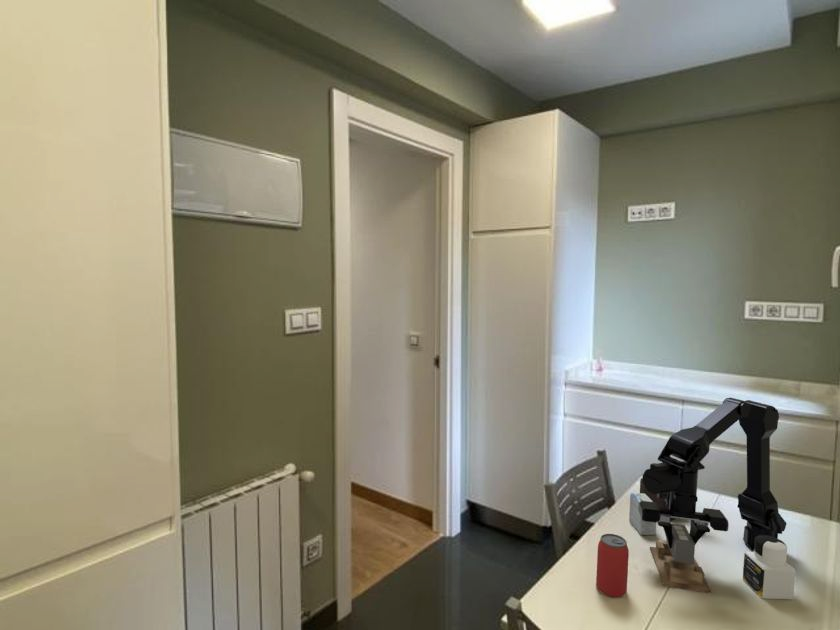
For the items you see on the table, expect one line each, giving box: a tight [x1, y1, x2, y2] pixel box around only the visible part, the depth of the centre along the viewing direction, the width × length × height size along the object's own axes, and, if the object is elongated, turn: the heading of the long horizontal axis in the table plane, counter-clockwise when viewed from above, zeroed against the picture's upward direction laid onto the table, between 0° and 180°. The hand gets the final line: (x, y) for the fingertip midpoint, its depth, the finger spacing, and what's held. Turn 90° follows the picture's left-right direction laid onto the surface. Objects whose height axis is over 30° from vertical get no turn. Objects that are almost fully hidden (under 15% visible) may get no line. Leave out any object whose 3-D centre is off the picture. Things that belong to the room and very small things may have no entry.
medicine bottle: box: [742, 535, 797, 600], centre depth 114 cm, size 7×7×12 cm
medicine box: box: [628, 492, 657, 536], centre depth 141 cm, size 8×4×9 cm, turn 179°
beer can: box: [595, 533, 630, 599], centre depth 113 cm, size 7×7×12 cm
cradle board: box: [649, 539, 712, 594], centre depth 121 cm, size 10×16×3 cm, turn 166°
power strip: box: [665, 522, 696, 564], centre depth 121 cm, size 4×9×5 cm, turn 166°
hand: (679, 548), depth 121 cm, fingers closed on power strip, 4 cm apart
